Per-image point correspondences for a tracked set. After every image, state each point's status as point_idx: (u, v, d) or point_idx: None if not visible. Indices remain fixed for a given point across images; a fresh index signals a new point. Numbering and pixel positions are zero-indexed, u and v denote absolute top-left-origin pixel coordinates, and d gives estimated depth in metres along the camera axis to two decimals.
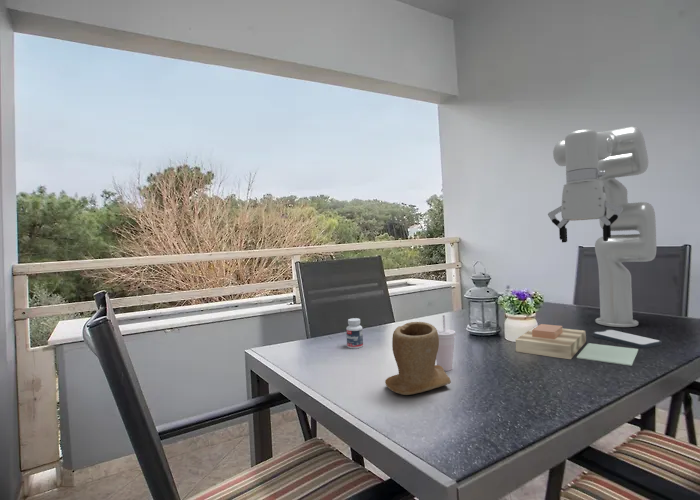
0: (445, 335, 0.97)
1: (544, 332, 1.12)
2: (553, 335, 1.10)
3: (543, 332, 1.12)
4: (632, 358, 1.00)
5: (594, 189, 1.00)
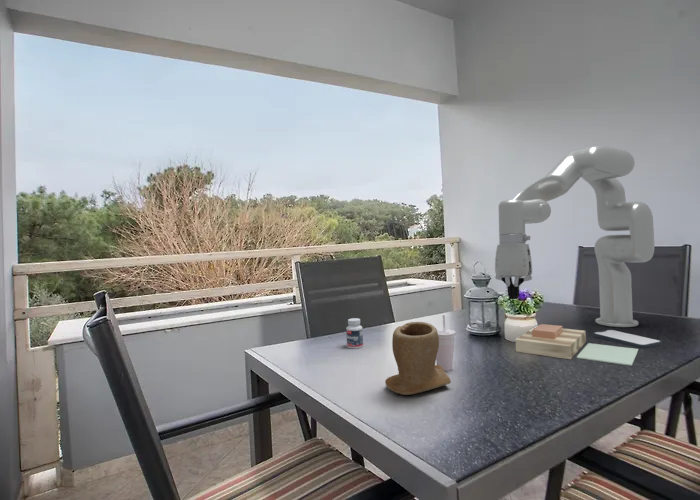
0: (445, 335, 0.97)
1: (544, 332, 1.12)
2: (553, 335, 1.10)
3: (543, 332, 1.12)
4: (632, 358, 1.00)
5: (520, 252, 1.17)
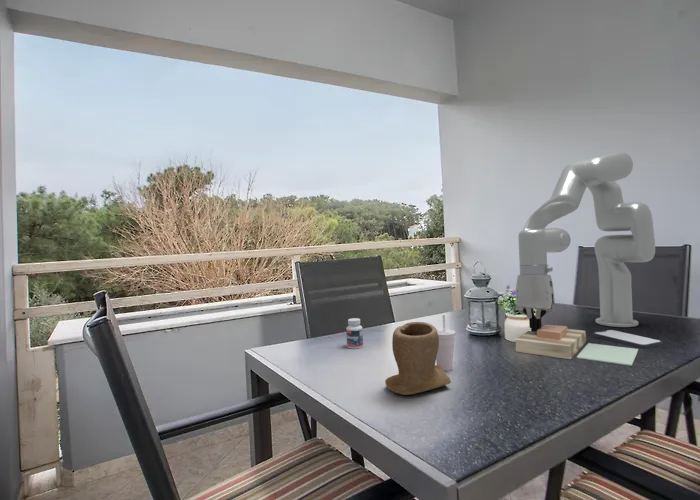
0: (445, 335, 0.97)
1: (549, 333, 1.11)
2: (558, 336, 1.09)
3: (548, 333, 1.11)
4: (632, 358, 1.00)
5: (542, 284, 1.13)
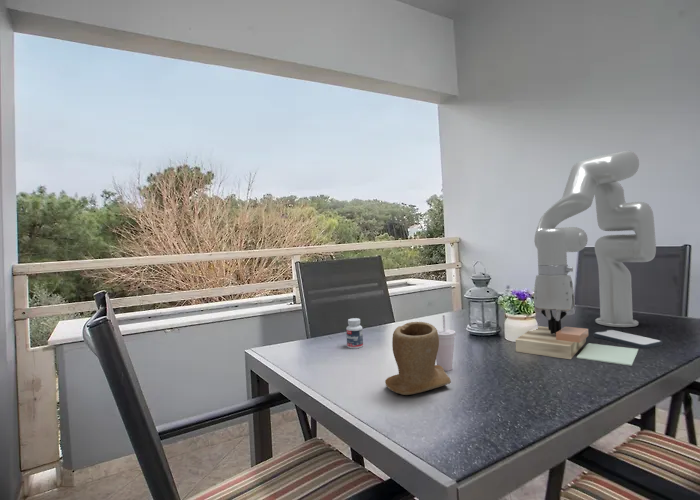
0: (445, 335, 0.97)
1: (569, 335, 1.07)
2: (578, 338, 1.06)
3: (568, 335, 1.07)
4: (632, 358, 1.00)
5: (562, 284, 1.10)
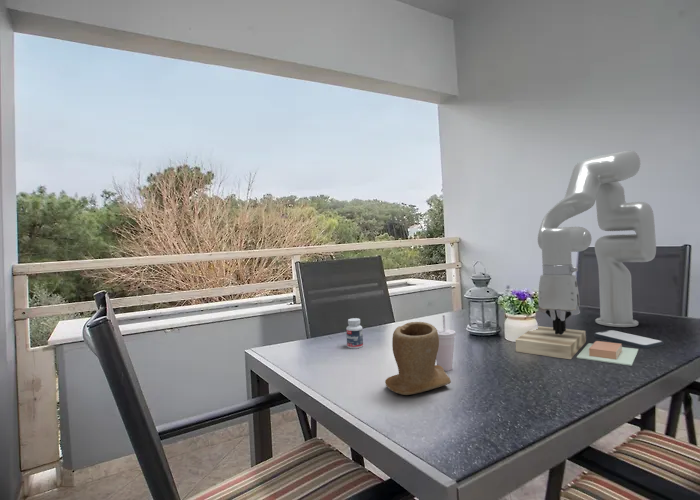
0: (445, 335, 0.97)
1: (600, 355, 1.02)
2: (590, 352, 1.04)
3: (602, 355, 1.02)
4: (632, 358, 1.00)
5: (567, 284, 1.09)
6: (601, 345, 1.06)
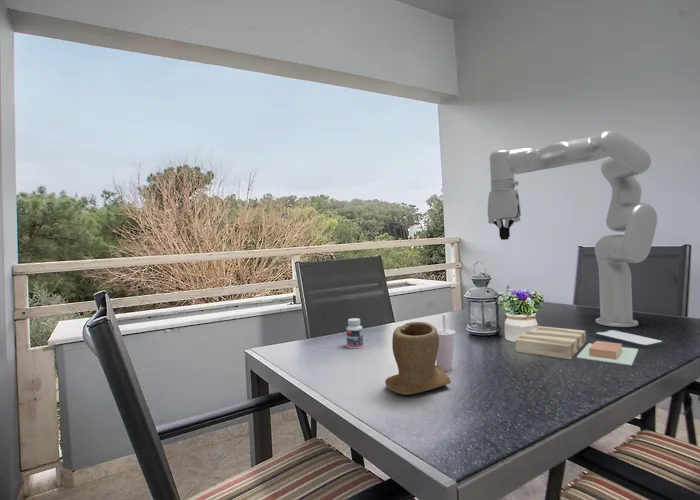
0: (445, 335, 0.97)
1: (600, 355, 1.02)
2: (590, 352, 1.04)
3: (602, 355, 1.02)
4: (632, 358, 1.00)
5: (509, 196, 1.31)
6: (601, 345, 1.06)
